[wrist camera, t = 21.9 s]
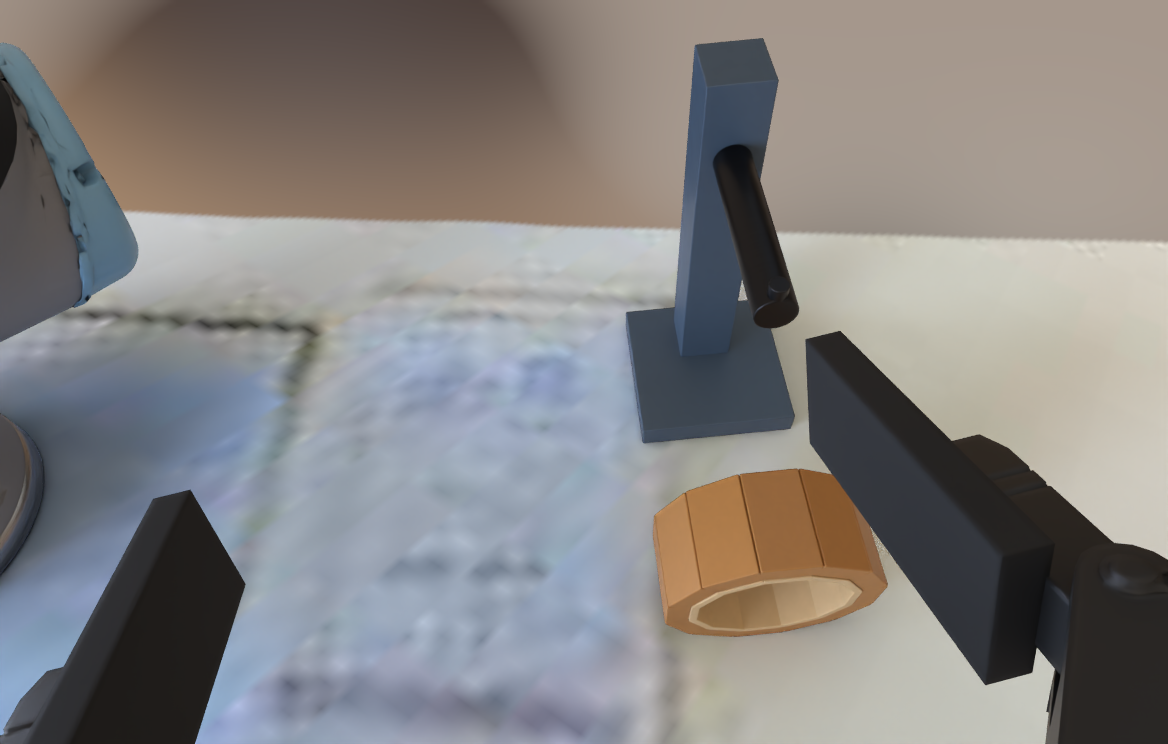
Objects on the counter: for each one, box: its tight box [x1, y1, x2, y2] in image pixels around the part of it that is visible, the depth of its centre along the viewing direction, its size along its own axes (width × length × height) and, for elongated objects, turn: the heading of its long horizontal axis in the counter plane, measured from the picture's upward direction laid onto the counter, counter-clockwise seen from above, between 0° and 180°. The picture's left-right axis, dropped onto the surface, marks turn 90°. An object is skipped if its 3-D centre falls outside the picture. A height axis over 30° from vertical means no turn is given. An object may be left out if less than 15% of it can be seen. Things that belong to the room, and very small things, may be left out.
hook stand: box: [626, 38, 799, 443], centre depth 39 cm, size 9×13×21 cm
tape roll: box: [653, 469, 888, 637], centre depth 36 cm, size 10×5×10 cm, turn 95°
